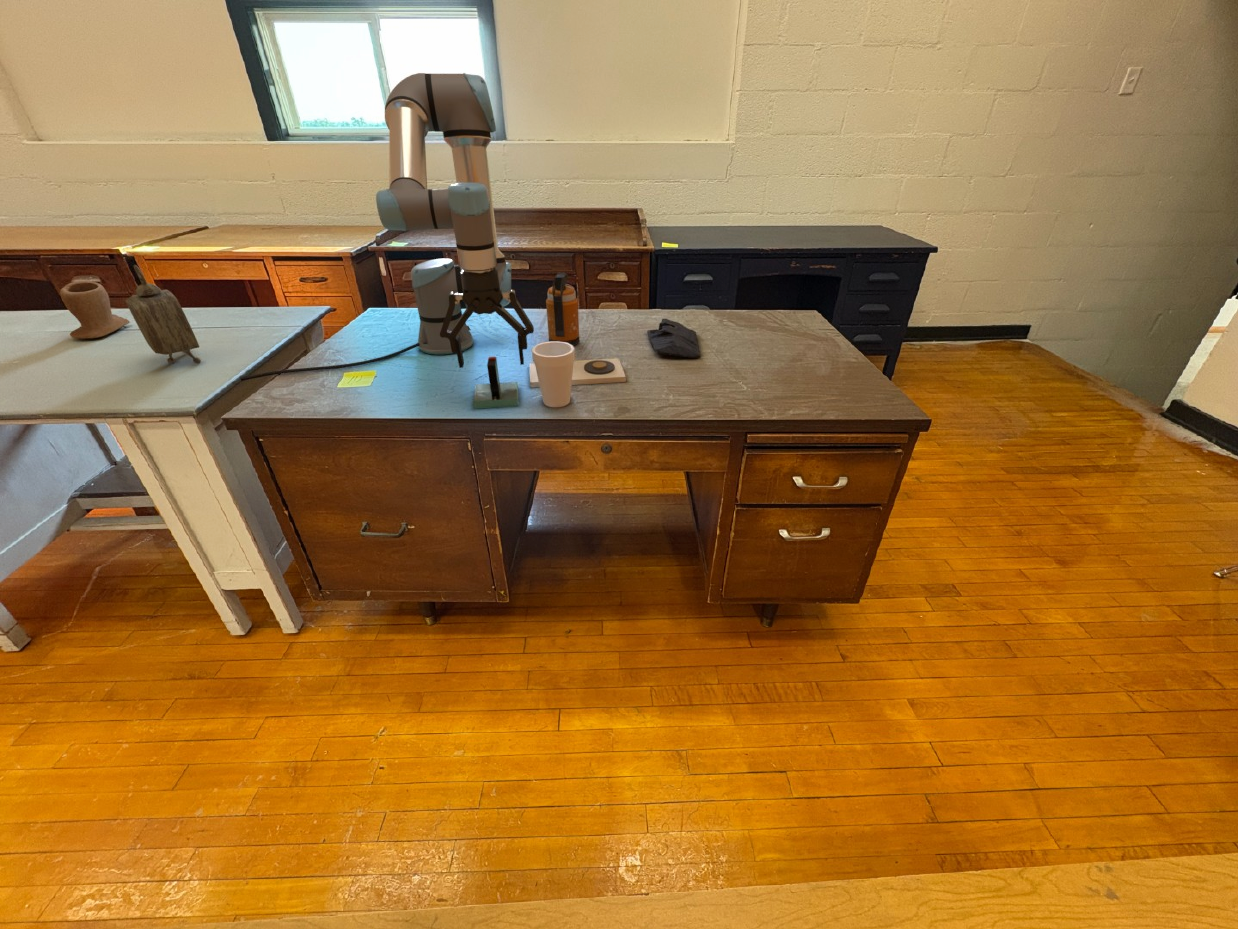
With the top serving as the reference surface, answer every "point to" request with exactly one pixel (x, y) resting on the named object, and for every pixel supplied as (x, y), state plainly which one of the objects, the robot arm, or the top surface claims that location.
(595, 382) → the hob
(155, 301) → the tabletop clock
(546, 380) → the foam cup
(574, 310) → the canister
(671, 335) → the dark grey folded cloth
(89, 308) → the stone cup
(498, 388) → the tall black monolith
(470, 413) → the top surface
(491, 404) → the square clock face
